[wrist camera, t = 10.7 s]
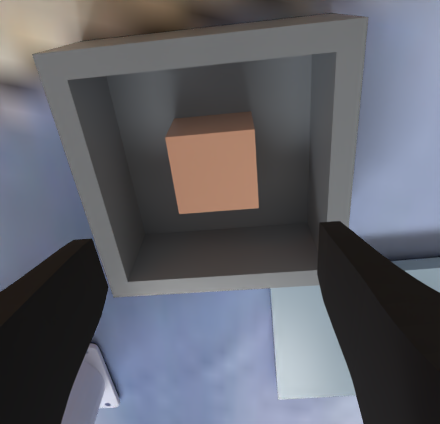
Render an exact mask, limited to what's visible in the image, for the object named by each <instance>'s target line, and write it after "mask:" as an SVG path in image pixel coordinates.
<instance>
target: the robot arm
mask: <svg viewBox="0 0 440 424" xmlns="http://www.w3.org/2000/svg"><path fill="white" fill-rule="evenodd" d="M317 276H318V280H319V285H320V289H321V294H322V298H323V302H324V305H325V308H326V310H327V313H328V316H329V318H330V321H331V324H332V327H333V329H334V332H335V335H336V337H337V340H338V343H339V345H340V348H341V351H342V353H343V356H344V359H345V361H346V364H347V366H348V369H349V373H350V376H351V379H352V382H353V385H354V389H355V393H356V397H357V400H358V404H359V408H360V412H361V415H362V419H363V423H364V424H440V293H439V292H438V291H436V290H434V289H432V288H431V287H429V286H427V285H426V284H424V283H422V282H421V281H419V280H418V279H416V278H414V277H413V276H411V275H410V274H408V273H407V272H405V271H404V270H403V269H401V268H400V267H398V266H397V265H395V264H394V263H392V262H391V261H390V260H388V259H387V258H386V257H384V256H383V255H382V254H380V253H379V252H378V251H376V250H375V249H374V248H372V247H371V246H370V245H369V244H367V243H366V242H365V241H364V240H363V239H361V238H360V237H359V236H358V235H356V234H355V233H354V232H353V231H352V230H350V229H349V228H348V227H347V226H346V225H344V224H343V223H342V222H341V221H331V222H319V244H318V266H317ZM107 291H108V284H107V281H106V278H105V275H104V273H103V270H102V267H101V264H100V261H99V258H98V255H97V252H96V249H95V246H94V243H93V240H92V239H80V240H73V241H71V242H70V243H68V244H67V245H65V246H64V247H62V248H61V249H59V250H58V251H57V252H55V253H54V254H52V255H51V256H50V257H48V258H47V259H46V260H44V261H43V262H42V263H40V264H39V265H38V266H36V267H35V268H34V269H32V270H31V271H29V272H28V273H27V274H25V275H24V276H23V277H21V278H20V279H19V280H17V281H16V282H14V283H13V284H11V285H10V286H8V287H7V288H6V289H4V290H3V291H1V292H0V424H94V423H95V420H96V417H97V414H98V410H99V408H115V407H118V406H119V404H120V399H119V397H118V394H117V392H116V389H115V387H114V384H113V382H112V379H111V377H110V374H109V372H108V369H107V367H106V364H105V362H104V360H103V357H102V355H101V352H100V350H99V347H98V346H97V345H96V344H92V343H90V342H91V340H92V337H93V335H94V333H95V330H96V328H97V325H98V323H99V320H100V317H101V315H102V311H103V307H104V304H105V300H106V295H107Z"/></svg>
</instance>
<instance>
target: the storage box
mask: <svg viewBox="0 0 440 424" xmlns="http://www.w3.org/2000/svg"><path fill="white" fill-rule="evenodd" d="M367 25H368V17H362V16H353V15H345V14H336V13H329V14H320V15H311V16H302V17H293V18H284V19H275V20H266V21H258V22H249V23H240V24H231V25H222V26H213V27H204V28H195V29H186V30H177V31H168V32H159V33H150V34H142V35H133V36H124V37H115V38H106V39H97V40H88V41H80V42H76V43H73V44H69V45H65V46H61V47H58V48H54V49H50V50H46V51H43V52H39V53H35V54H32V55H33V58H34V61H35V64H36V67H37V70H38V73H39V76H40V79H41V82H42V85H43V88H44V91H45V94H46V97H47V100H48V103H49V106H50V109H51V112H52V115H53V118H54V121H55V124H56V127H57V130H58V133H59V136H60V139H61V142H62V145H63V148H64V151H65V154H66V157H67V160H68V163H69V166H70V169H71V172H72V175H73V178H74V181H75V184H76V187H77V190H78V193H79V196H80V198H81V201H82V204H83V207H84V210H85V213H86V216H87V219H88V222H89V225H90V228H91V231H92V234H93V237H94V240H95V243H96V246H97V249H98V252H99V255H100V258H101V261H102V264H103V267H104V270H105V273H106V276H107V279H108V282H109V285H110V288H111V291H112V294H113V297H129V296H146V295H163V294H180V293H197V292H214V291H230V290H247V289H264V288H281V287H298V286H314V285H319V280H318V276H317V266H318V244H319V222H331V221H341V222H342V223H343V224H344V225H346V226H347V227H349V217H350V206H351V195H352V185H353V174H354V163H355V153H356V142H357V131H358V121H359V110H360V100H361V89H362V78H363V68H364V57H365V46H366V36H367ZM249 111H251V113H252V118H253V123H254V128H255V144H256V163H257V182H258V201H259V208H254V209H241V210H227V211H214V212H201V213H187V214H179V211H178V205H177V200H176V194H175V189H174V183H173V178H172V172H171V167H170V162H169V156H168V151H167V145H166V140H165V137H166V134H167V132H168V130H169V128H170V126H171V124H172V122H173V120H174V119H175V118H186V117H196V116H207V115H218V114H228V113H239V112H249Z"/></svg>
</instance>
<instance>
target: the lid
mask: <svg viewBox="0 0 440 424" xmlns="http://www.w3.org/2000/svg"><path fill="white" fill-rule="evenodd" d="M391 262H392V263H394V264H395V265H397V266H398V267H400V268H401V269H403V270H404V271H405V272H407V273H408V274H410V275H411V276H413V277H414V278H416V279H418V280H419V281H421V282H422V283H424V284H426V285H427V286H429V287H431V288H432V289H434V290H436V291H438V292H439V293H440V257H437V258H425V259H412V260H400V261H391ZM270 297H271V312H272V326H273V340H274V354H275V368H276V382H277V393H278V400H280V399H300V398H319V397H338V396H356V393H355V389H354V385H353V382H352V379H351V376H350V373H349V369H348V366H347V364H346V361H345V359H344V356H343V353H342V351H341V348H340V345H339V343H338V340H337V337H336V335H335V332H334V329H333V327H332V324H331V321H330V318H329V316H328V313H327V310H326V308H325V305H324V302H323V298H322V294H321V289H320V285H314V286H298V287H281V288H270Z"/></svg>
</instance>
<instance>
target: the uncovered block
mask: <svg viewBox="0 0 440 424" xmlns="http://www.w3.org/2000/svg"><path fill="white" fill-rule="evenodd" d="M165 140H166V145H167V151H168V156H169V162H170V167H171V172H172V178H173V183H174V189H175V194H176V200H177V205H178V211H179V214H187V213H201V212H214V211H227V210H241V209H254V208H259V201H258V182H257V163H256V144H255V128H254V123H253V118H252V113H251V111H249V112H239V113H228V114H218V115H207V116H196V117H186V118H175V119H174V120H173V122H172V124H171V126H170V128H169V130H168V132H167V134H166V137H165Z"/></svg>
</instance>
